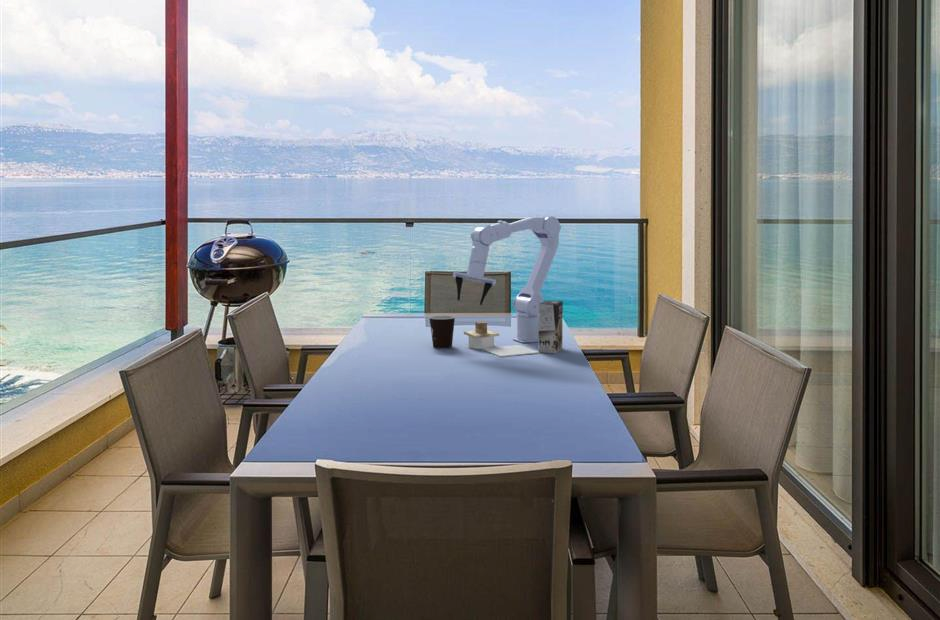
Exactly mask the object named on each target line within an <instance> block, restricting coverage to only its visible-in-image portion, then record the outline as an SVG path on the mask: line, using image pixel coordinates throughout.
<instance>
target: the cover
mask: <svg viewBox="0 0 940 620" xmlns="http://www.w3.org/2000/svg"><path fill="white" fill-rule="evenodd" d="M463 334H464V335H466V336H468V337H469V336H471V337H473V338H481V337H493V336H494V337H500V333H498V332H496V331H493V330H489V329H488V322H486V321H483V320H482V321H475V329H474V330H468V331H467V330H466V331H463Z"/></svg>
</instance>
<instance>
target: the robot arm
mask: <svg viewBox="0 0 940 620" xmlns="http://www.w3.org/2000/svg"><path fill="white" fill-rule="evenodd" d="M561 229H562V226H561V224H560V221H559V219H558V218H557V217H555V216H541V215H535V216H529V217H525V218H522V219H519V220H517V221H513V222H510V223H509V222H507V221H503V220H498V221H497V222H496V223H492V224H489V223H488V224H485V226H484V227H483V226H478V227H476V228H474V230H473V231H472V233H470V239H471V242H472V243H471V249H470V255H469V260H468V264H467V265H468V266H467V271H466V273H464V272H459V271H453V274H452V278H455V283H456V291H457V299H456V300H457V301H460V299H461V291H462V286H463V282H464V280H466V281H471V282H476V283H481V284H484V286H483V291H482V295H481V299H480V301H479V302H480V303H479V305H480V306H482V305H483V303H484V299H485V298H486V296H487V294H488V293H489V291H490V290H491V288H492V286H496V284H497V279H493V278H490V277H484V275H485V271H486V268H487V267H486V266H487V261H488V256H489V252H490V246H491V245H493V244H494V242H498V241H501V240H505V239H508V238H510V237H511V234H513V233H517V232H520V231H521V232H522V231H526V230H531V232H532V233H533V234H534V235H535V237H536V238H537V239H538V240H539V242H540V244H541V247H540V248H539V252H538V254H537V257H536V259H535V262H534V264H533V267H532V270H531V272H530V275H529V277H528V280H527V283H526V285H525V286H524V287H522V288H521V289H520V291H519V292H518V294H517V296H515V298H514V299H513V303H512V307H513V310H514V311H515V312H516V313H515V314H516V337H512V339H511V340H513V341H517V342H518V343H519V342H520V343H522V344H524V343H525V344H526V343H534V342H538V339H539V304H540V303H542V302H543V299H544V296H543V294H542V289H543V286H544V283H545V282H546V279H547V276H548V273H549V271H550V268H551V266H552V263H553V261H554V259H555V256H556V253H557V250H558V249H559V243H560V241H559V239H560V238H559V237H560V236H559V235H560V231H561ZM477 279H478V280H477Z"/></svg>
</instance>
